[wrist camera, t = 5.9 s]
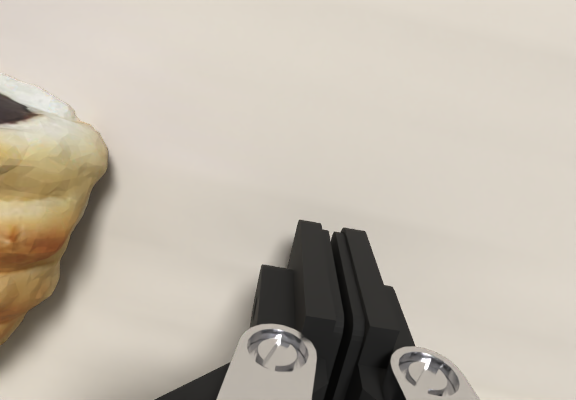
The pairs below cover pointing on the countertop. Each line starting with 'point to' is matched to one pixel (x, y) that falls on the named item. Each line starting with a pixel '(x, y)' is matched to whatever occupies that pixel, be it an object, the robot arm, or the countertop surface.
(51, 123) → the pastry
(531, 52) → the countertop surface
